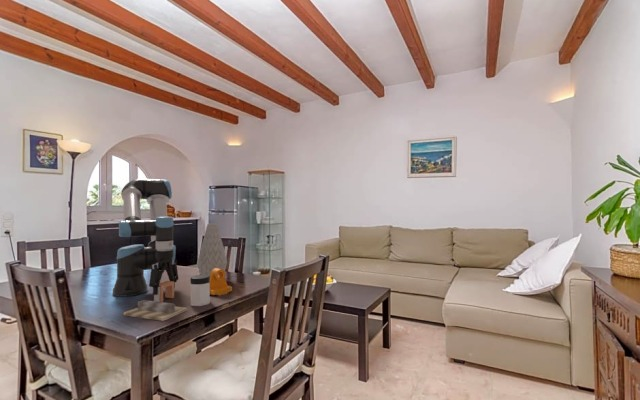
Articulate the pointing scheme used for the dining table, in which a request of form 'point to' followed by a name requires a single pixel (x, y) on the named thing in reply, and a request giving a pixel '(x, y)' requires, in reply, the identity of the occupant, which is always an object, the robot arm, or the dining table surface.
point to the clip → (167, 289)
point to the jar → (200, 290)
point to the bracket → (218, 282)
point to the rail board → (154, 314)
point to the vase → (211, 251)
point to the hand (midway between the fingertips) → (164, 298)
